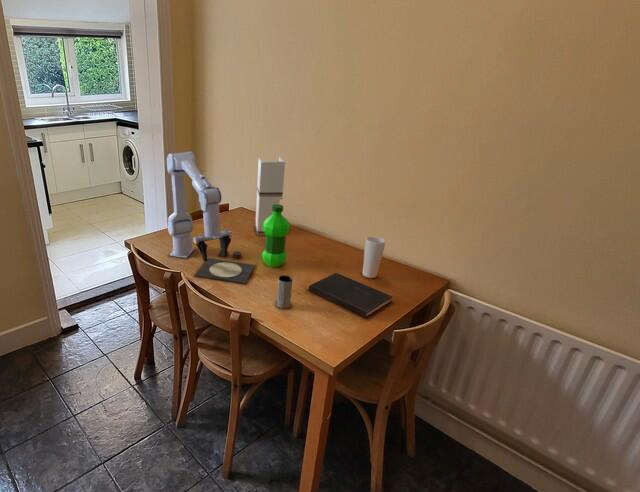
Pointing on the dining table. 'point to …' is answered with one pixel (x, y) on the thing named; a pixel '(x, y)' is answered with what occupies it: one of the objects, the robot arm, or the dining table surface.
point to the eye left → (226, 253)
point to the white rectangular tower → (268, 190)
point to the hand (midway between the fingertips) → (214, 258)
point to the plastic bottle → (275, 237)
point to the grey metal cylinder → (284, 291)
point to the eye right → (237, 255)
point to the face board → (225, 271)
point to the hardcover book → (351, 294)
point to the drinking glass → (372, 256)
